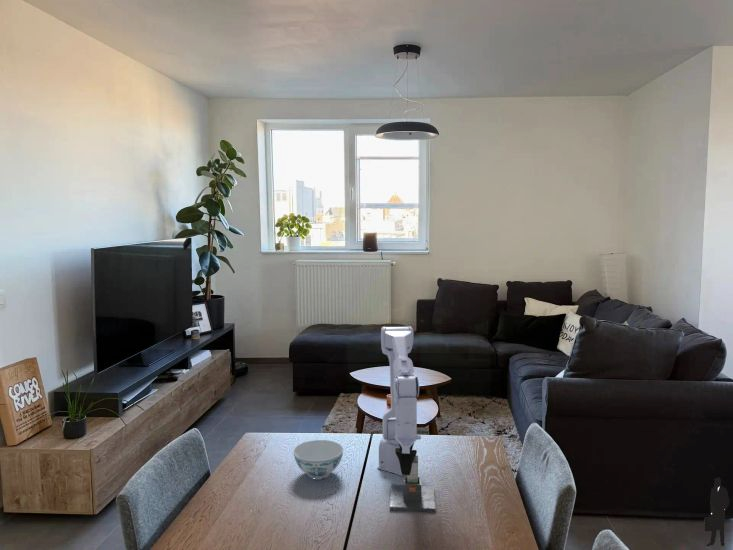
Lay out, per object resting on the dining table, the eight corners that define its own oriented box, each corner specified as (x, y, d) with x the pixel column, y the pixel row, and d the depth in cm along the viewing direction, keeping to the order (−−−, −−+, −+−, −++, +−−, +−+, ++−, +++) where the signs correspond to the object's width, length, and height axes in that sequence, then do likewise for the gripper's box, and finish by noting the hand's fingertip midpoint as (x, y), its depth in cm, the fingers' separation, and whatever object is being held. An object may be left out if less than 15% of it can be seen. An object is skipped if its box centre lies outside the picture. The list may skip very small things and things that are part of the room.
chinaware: (284, 481, 156) (284, 455, 155) (308, 460, 170) (308, 437, 169) (330, 490, 151) (329, 464, 150) (351, 468, 164) (351, 444, 164)
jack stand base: (389, 510, 140) (389, 490, 139) (391, 488, 152) (391, 469, 151) (435, 512, 139) (435, 492, 138) (433, 489, 150) (433, 471, 150)
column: (406, 487, 143) (406, 459, 143) (407, 482, 146) (407, 455, 146) (418, 488, 143) (418, 460, 142) (417, 482, 146) (418, 455, 145)
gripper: (421, 430, 136) (421, 481, 137) (420, 410, 150) (420, 456, 151) (394, 429, 136) (394, 480, 137) (395, 410, 151) (395, 456, 152)
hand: (406, 467), depth 144 cm, fingers open, 7 cm apart
